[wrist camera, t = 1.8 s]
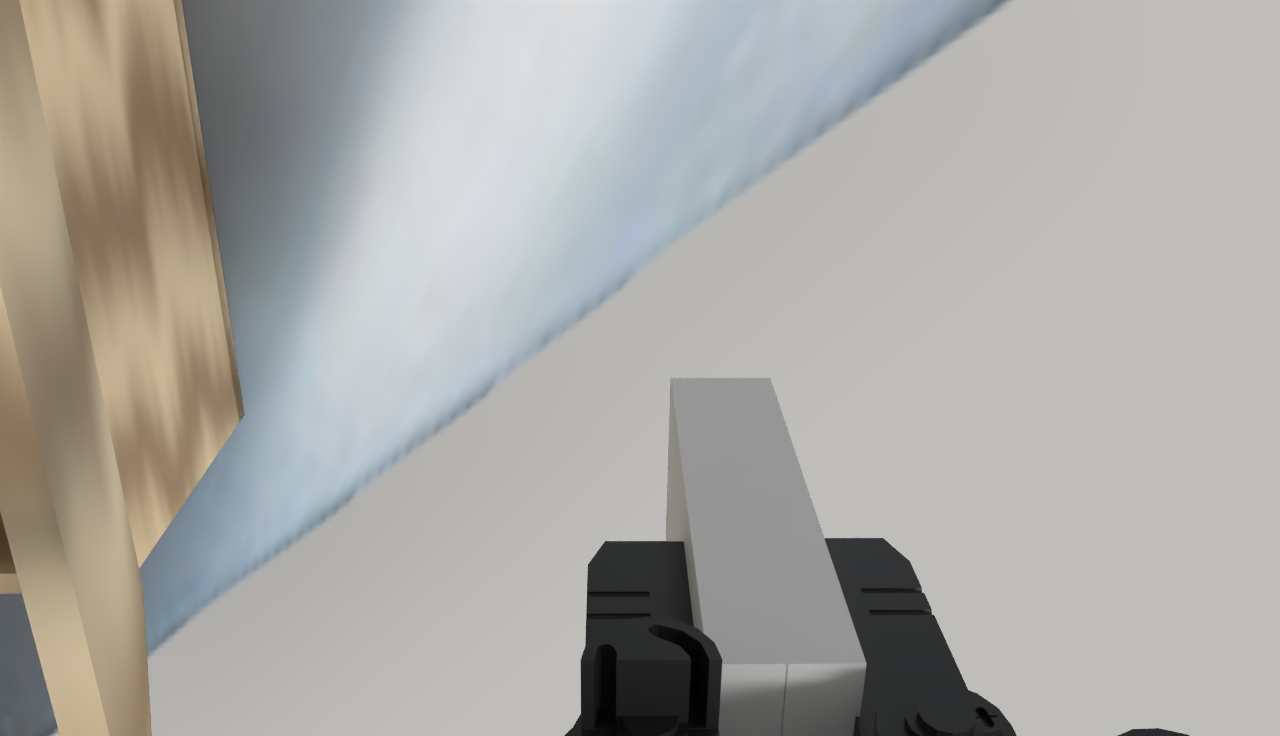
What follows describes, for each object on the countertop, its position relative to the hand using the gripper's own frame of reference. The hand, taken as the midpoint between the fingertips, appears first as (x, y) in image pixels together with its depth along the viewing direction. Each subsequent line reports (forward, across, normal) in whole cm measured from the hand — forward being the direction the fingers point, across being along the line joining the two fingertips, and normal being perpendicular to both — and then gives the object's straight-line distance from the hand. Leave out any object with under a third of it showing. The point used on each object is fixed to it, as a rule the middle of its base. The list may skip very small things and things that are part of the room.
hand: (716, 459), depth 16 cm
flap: (+3, -12, 0) cm, 12 cm away
